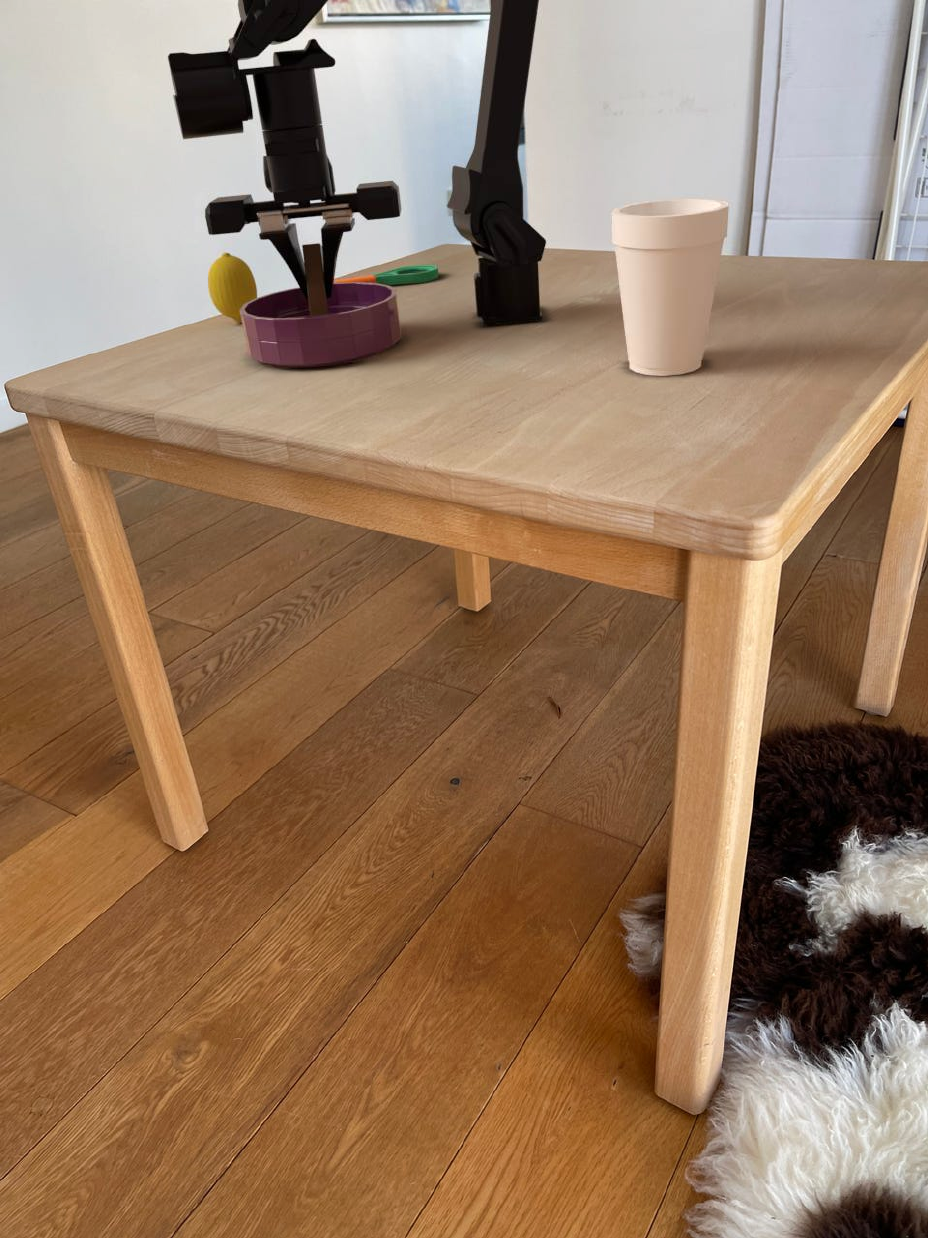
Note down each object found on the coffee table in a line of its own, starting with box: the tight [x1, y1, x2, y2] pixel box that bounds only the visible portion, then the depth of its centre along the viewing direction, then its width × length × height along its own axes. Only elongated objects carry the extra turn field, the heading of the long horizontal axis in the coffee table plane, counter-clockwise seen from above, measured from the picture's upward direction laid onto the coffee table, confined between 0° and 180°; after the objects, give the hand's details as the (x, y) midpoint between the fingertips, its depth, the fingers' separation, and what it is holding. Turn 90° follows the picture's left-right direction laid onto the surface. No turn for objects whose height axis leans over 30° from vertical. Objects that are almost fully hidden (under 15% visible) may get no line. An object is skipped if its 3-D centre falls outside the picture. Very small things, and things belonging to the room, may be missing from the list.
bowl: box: [240, 282, 402, 369], centre depth 96 cm, size 16×16×5 cm
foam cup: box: [611, 198, 730, 377], centre depth 79 cm, size 10×9×13 cm
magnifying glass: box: [334, 264, 440, 286], centre depth 123 cm, size 15×6×2 cm, turn 118°
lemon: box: [207, 252, 258, 324], centre depth 109 cm, size 6×6×8 cm
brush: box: [289, 242, 343, 318], centre depth 95 cm, size 6×4×9 cm
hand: (319, 297), depth 95 cm, fingers closed on brush, 2 cm apart
